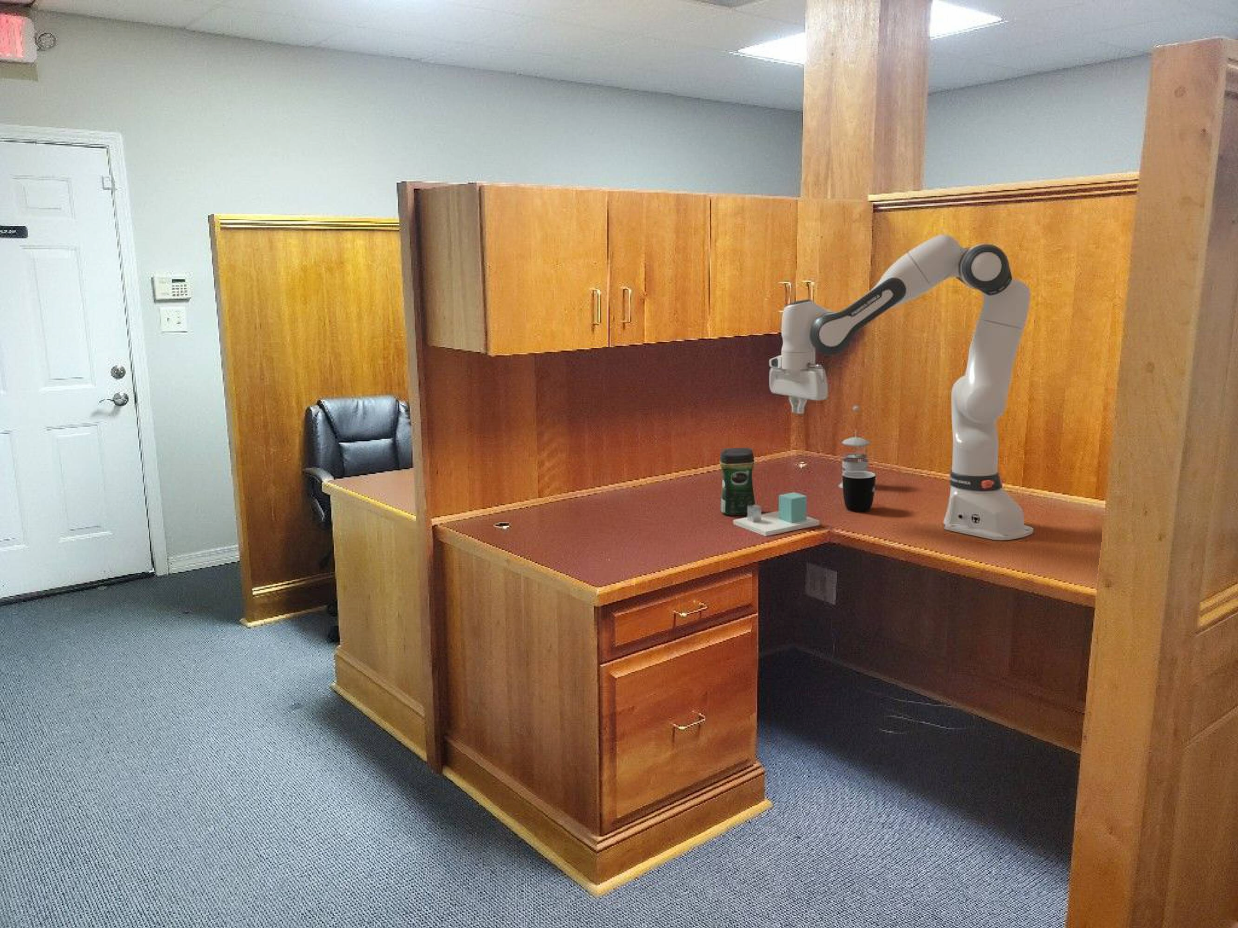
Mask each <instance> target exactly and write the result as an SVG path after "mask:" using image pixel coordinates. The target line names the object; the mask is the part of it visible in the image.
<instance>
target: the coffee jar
mask: <svg viewBox="0 0 1238 928" xmlns="http://www.w3.org/2000/svg"><path fill="white" fill-rule="evenodd" d="M753 452H754V451H753V450H752V448H750V447H732V448H722V449H721V450H720V456H719V457H720V459H719V466H720V469H721V472H722V476H721V477H722V483H721V497H720V498H721V499H720V512H721V513H722V515H723V514H724V515H727V516H743V515H745V516H747V506H751V505H756V501H755V499H756V498H755V493H754V486H753V468H754V466H755V458H754V453H753Z"/></svg>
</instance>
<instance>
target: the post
mask: <svg viewBox="0 0 1238 928" xmlns="http://www.w3.org/2000/svg"><path fill="white" fill-rule="evenodd" d="M761 514H762V506H760V505H758V504H755V505H751V506H747V514H746V517H747V520H748V521H750V522H753V523H754V522H759V521H761Z"/></svg>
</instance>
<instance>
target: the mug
mask: <svg viewBox="0 0 1238 928" xmlns="http://www.w3.org/2000/svg"><path fill="white" fill-rule="evenodd" d="M841 479H842V480H841V483H843V488H842V495H843V496H842V497H843V501H844V506H845V508H846V510H847V511H849V512H853V513H854V512H855V513H865V512H869V511H870V510H871V508H872V505H873V503H874V496H875V489H876V488H875V487H876V474H875V473H874V472H871V471H868V472H867V471H861V470H858V471H849V472H845V473H843V476H842V475H841Z"/></svg>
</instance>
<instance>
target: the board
mask: <svg viewBox="0 0 1238 928" xmlns="http://www.w3.org/2000/svg"><path fill="white" fill-rule="evenodd" d="M732 522H733V525H735V526H737V527H739V528H742V529H746V530H747V531H750V532H754V533H756V534H759V535H762V536H764V537H769V536H773V535H777V534H782V533H787V532H791V531H792V532H793V531H797V530H801V529H802V530H803V529H806V528H810V527H816V526H820V520H818V519H816V518H813V517H810V516H807V520H804V521H800V522H795V523H789V522H786V521H783V520H781V519H779V510H776V511H772V512H766V513H761V521H759V522H754V523H753V522H750V521H748V520H747V516H746V517H741V518H736V519H733V520H732Z"/></svg>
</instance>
